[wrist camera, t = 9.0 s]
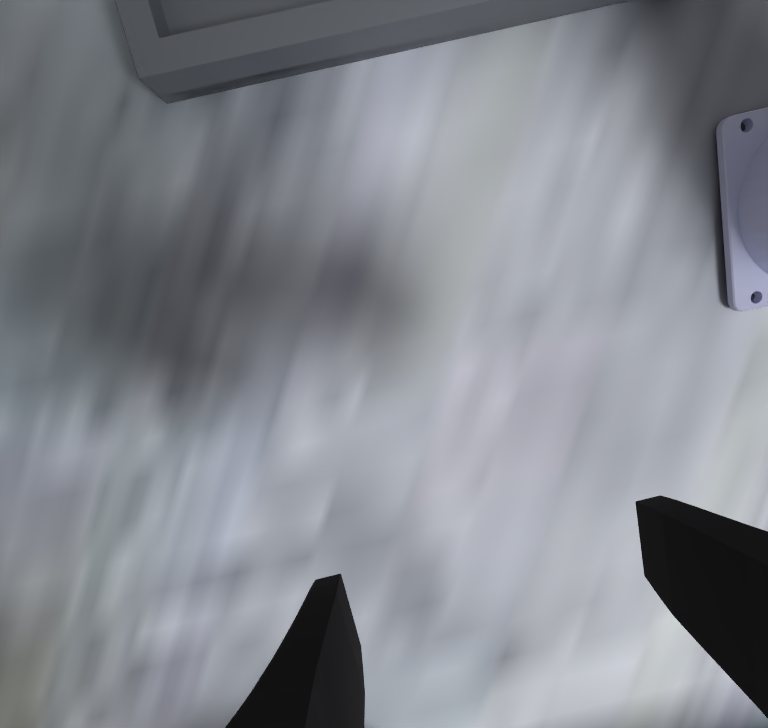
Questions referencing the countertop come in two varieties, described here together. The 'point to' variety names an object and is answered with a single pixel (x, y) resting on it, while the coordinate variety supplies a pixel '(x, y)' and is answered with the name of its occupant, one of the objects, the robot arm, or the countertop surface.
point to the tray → (300, 35)
